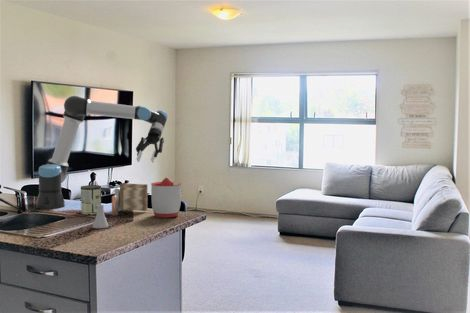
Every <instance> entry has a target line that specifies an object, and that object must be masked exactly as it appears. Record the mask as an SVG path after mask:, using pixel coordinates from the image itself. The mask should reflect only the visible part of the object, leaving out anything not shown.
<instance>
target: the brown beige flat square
mask: <svg viewBox="0 0 470 313" xmlns="http://www.w3.org/2000/svg"><path fill="white" fill-rule="evenodd" d="M119 189H120V211H121V210H122V211H123V210H125V211H143V212H146V211H148V184H147V183H146V184H145V183H144V184H143V183H124V182H123V183H120V184H119Z"/></svg>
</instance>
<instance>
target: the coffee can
mask: <svg viewBox="0 0 470 313" xmlns="http://www.w3.org/2000/svg"><path fill="white" fill-rule="evenodd" d="M101 188H102V185H97V184H89V185H82V186H80V208H81V209H80V211H81V212H80V213H81V214H82V215H88V214H90V215H97V205H102V194H101V192H102V189H101Z"/></svg>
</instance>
